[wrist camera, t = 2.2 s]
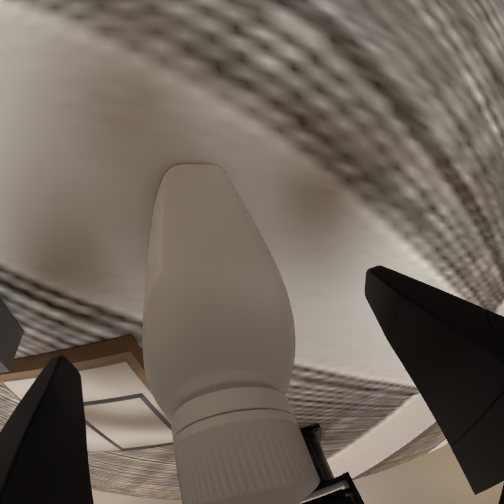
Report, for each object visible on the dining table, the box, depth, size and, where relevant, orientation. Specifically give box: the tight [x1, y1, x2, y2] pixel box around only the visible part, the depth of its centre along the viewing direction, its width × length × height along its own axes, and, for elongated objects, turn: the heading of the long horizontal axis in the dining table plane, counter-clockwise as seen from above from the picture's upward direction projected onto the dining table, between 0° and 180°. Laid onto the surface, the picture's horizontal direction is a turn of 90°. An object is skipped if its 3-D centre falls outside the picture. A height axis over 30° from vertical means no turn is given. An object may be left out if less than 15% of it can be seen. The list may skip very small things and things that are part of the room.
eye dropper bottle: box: [143, 164, 320, 504], centre depth 8 cm, size 4×6×12 cm
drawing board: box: [0, 335, 174, 452], centre depth 17 cm, size 12×11×2 cm
